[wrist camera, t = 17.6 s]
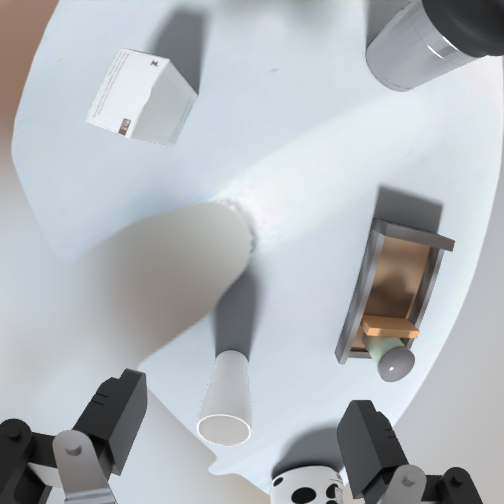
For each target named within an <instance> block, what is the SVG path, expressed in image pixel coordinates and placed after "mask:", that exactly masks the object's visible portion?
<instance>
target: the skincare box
mask: <svg viewBox="0 0 504 504" xmlns="http://www.w3.org/2000/svg"><path fill="white" fill-rule="evenodd" d="M197 97H198V95H197V93H196V92H195V91H194V90H193V88H192V87H191V86H190V85H189V83H188V82H187V81H186V80H185V78H184V77H183V76H182V74H181V73H180V72H179V71H178V70H177V68H176V67H175V66H174V65H173V63H172V62H171V60H170V59H169V58H165V57H161V56H157V55H153V54H149V53H145V52H140V51H135V50H130V49H125V48H120V49H119V50H118V52H117V54H116V56H115V57H114V59H113V61H112V63H111V65H110V67H109V69H108V71H107V73H106V75H105V77H104V79H103V81H102V83H101V85H100V87H99V89H98V91H97V93H96V95H95V98H94V100H93V102H92V104H91V107H90V109H89V111H88V114H87V116H86V119H85V122H88V123H91V124H93V125H96V126H98V127H101V128H103V129H106V130H108V131H111V132H113V133H116V134H119V135H121V136H123V137H126V138H128V139H132V140H138V141H144V142H149V143H155V144H160V145H165V146H170V147H173V146H174V144H175V142H176V140H177V138H178V136H179V134H180V132H181V130H182V127H183V125H184V123H185V121H186V119H187V117H188V115H189V113H190V111H191V109H192V107H193V104H194V102H195V101H196V99H197Z"/></svg>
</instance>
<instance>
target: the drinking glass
mask: <svg viewBox="0 0 504 504" xmlns="http://www.w3.org/2000/svg"><path fill="white" fill-rule="evenodd" d="M252 421H253V410H252V399H251V390H250V381H249V363H248V360H247V358H246V357H245V356H244V355H243V354H242V353H240V352H238V351H234V350H228V351H224V352H222V353H220V354H219V355H218V356H217V357H216V359H215V363H214V367H213V370H212V373H211V376H210V379H209V382H208V384H207V387H206V390H205V393H204V395H203V398H202V401H201V405H200V408H199V413H198V419H197V426H196V428H197V432H198V434H199V435H200V436H201V437H202V438H203V439H204V440H206V441H208V442H210V443H212V444H215V445H219V446H235V445H239V444H242V443H244V442H245V441H247V440H248V439H249V438H250V436H251V433H252Z"/></svg>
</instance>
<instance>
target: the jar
mask: <svg viewBox="0 0 504 504" xmlns="http://www.w3.org/2000/svg"><path fill="white" fill-rule="evenodd" d="M362 342H363V344H364V346H365V347H366V349H367V351H368V352H369V354H370V356H371V357H372V359H373V361H374V363H375V364H376V366H377V368H378V372H379V374H380V376H381V378H382V379H383V380H384V381H386V382H395V381H398V380H400V379H402V378H404V377H405V376H406V375H407V374H408V373H409V372H410V371H411V369H412V368H413V366H414V363H415V357H414V355H413V353H412V352H411V351H410V349H409V348H407V347H405V345H404V344H403V343H402V342H401V340H400V339H399V338H398V337H386V336H371V335H366V333H365V332H364V333H363V336H362Z"/></svg>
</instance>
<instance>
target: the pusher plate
mask: <svg viewBox="0 0 504 504" xmlns="http://www.w3.org/2000/svg"><path fill="white" fill-rule="evenodd" d="M360 326H361V327H362V329H363V330H364V332H365V333H366V335H371V336H386V337H403V338H417V336H418V334H419V330H418V329H417V328H416V327H415V326H414V325H413V324H412V323H411V322H410V321H409V320H408V319H402V318H391V317H381V316H371V315H363V316H362V319H361V322H360Z"/></svg>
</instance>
